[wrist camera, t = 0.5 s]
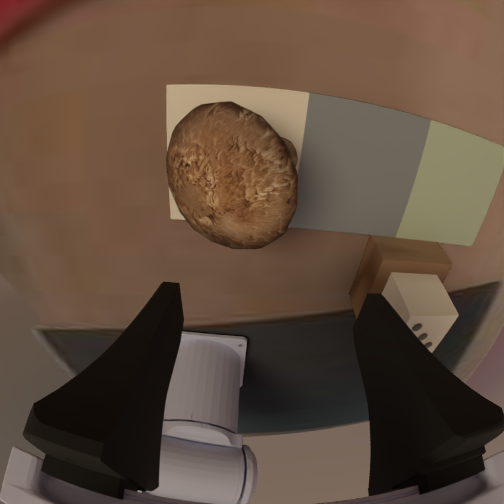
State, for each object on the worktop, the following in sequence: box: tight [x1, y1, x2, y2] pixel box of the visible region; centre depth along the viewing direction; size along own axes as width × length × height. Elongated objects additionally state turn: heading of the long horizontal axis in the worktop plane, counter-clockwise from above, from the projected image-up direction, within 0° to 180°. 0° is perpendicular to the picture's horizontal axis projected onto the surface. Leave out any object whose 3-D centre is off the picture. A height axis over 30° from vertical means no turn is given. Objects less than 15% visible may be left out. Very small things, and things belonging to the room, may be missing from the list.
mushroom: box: [166, 101, 298, 249], centre depth 16 cm, size 8×8×6 cm
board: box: [167, 84, 504, 246], centre depth 18 cm, size 9×24×1 cm, turn 86°
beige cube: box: [382, 272, 459, 353], centre depth 19 cm, size 4×4×4 cm
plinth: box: [349, 235, 452, 319], centre depth 22 cm, size 6×6×3 cm
